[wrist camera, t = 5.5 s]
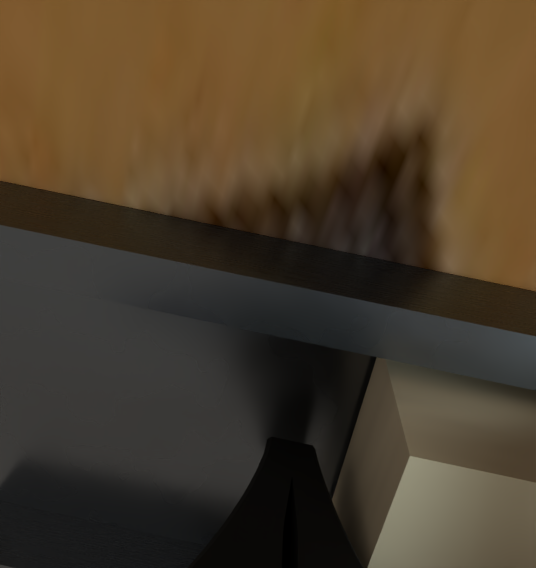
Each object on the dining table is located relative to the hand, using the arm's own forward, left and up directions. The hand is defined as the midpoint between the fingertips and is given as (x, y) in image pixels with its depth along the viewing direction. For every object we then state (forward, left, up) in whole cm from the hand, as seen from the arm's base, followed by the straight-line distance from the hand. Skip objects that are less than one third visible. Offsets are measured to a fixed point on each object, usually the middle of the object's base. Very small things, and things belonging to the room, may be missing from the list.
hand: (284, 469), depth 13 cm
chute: (0, 0, -2) cm, 2 cm away
